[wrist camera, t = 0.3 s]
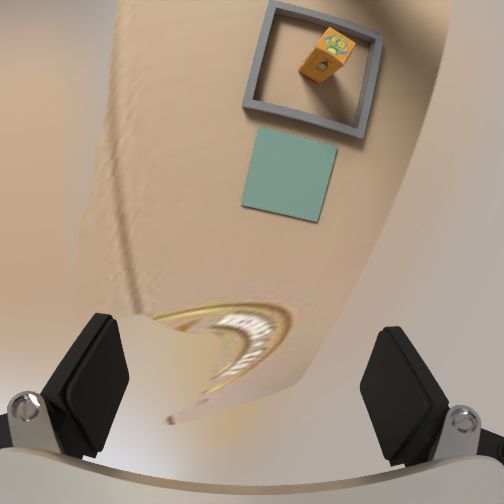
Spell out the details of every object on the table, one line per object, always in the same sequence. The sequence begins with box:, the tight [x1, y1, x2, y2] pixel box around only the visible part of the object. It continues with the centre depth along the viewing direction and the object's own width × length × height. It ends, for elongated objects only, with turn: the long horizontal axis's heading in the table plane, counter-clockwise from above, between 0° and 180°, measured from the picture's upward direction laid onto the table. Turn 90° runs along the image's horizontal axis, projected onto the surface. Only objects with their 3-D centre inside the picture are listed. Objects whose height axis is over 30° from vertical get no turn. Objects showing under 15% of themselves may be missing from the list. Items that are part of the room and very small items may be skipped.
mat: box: [241, 127, 337, 222], centre depth 37 cm, size 10×10×1 cm
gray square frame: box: [242, 0, 384, 139], centre depth 31 cm, size 15×15×2 cm
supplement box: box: [299, 27, 356, 84], centre depth 27 cm, size 3×4×10 cm
